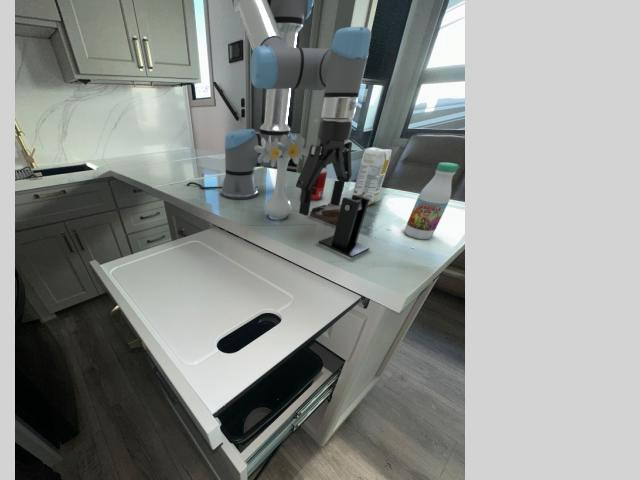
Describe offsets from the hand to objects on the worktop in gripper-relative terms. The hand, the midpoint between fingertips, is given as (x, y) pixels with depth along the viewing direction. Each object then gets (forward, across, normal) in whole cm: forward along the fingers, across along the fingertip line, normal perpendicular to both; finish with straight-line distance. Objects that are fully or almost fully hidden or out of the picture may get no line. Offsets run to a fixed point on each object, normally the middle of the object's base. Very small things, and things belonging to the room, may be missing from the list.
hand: (319, 209), depth 76 cm
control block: (+8, +15, +6) cm, 18 cm away
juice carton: (+8, +41, +10) cm, 43 cm away
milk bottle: (+8, +27, -18) cm, 34 cm away
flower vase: (+8, +1, +19) cm, 21 cm away
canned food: (+8, +29, +26) cm, 40 cm away
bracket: (+8, 0, -10) cm, 13 cm away
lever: (-1, 0, -6) cm, 6 cm away
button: (+4, +15, +6) cm, 17 cm away
